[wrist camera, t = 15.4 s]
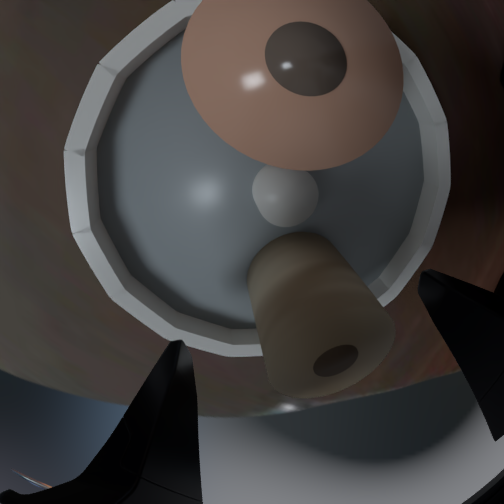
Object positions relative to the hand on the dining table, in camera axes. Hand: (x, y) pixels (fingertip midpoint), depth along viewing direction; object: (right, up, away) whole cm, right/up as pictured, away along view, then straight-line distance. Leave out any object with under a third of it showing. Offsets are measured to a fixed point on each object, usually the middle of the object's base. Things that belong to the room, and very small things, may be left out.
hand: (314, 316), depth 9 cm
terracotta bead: (-2, +7, -1) cm, 8 cm away
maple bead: (0, +1, +2) cm, 3 cm away
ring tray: (-1, +5, +1) cm, 5 cm away
